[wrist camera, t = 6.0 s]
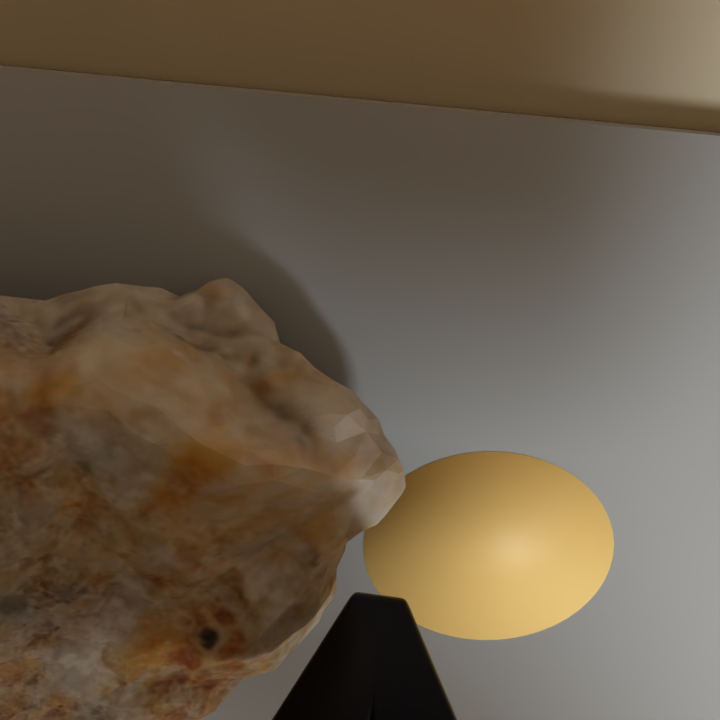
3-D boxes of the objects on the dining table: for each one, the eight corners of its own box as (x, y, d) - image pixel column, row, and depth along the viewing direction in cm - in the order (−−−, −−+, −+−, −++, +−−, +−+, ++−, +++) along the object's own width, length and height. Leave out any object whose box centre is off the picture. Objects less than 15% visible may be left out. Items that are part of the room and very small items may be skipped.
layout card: (1342, 191, 7) (1380, 198, 7) (856, 829, 12) (866, 848, 12) (-139, 53, 7) (-161, 53, 7) (24, 725, 13) (16, 741, 13)
